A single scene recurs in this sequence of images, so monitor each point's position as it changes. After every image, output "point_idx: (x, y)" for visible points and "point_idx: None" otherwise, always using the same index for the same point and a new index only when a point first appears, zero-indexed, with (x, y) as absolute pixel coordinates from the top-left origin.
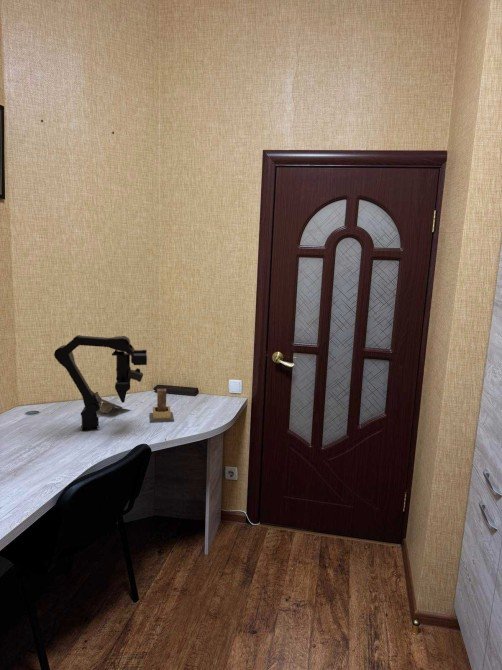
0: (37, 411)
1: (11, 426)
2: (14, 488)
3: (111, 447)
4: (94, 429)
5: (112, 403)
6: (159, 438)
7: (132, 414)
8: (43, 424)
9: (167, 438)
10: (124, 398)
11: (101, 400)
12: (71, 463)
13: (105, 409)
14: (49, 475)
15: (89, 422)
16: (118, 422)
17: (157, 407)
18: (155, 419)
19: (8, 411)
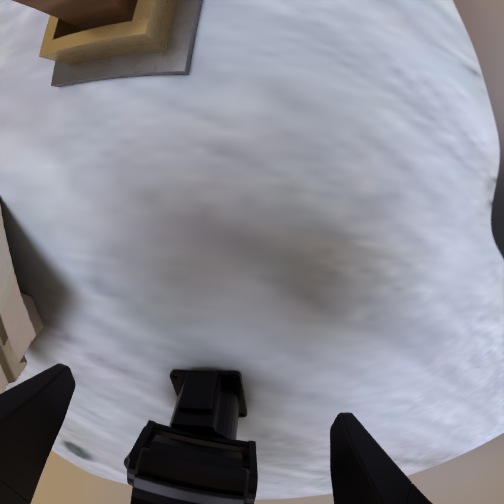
0: (66, 443)
1: None
2: (483, 439)
3: (462, 321)
4: (241, 383)
5: (17, 321)
6: (463, 93)
7: (38, 184)
8: None
9: (467, 60)
10: (384, 457)
11: (2, 355)
12: (476, 400)
13: (33, 325)
14: (487, 417)
15: (236, 424)
16: (144, 271)
17: (95, 5)
18: (172, 37)
19: (81, 468)
